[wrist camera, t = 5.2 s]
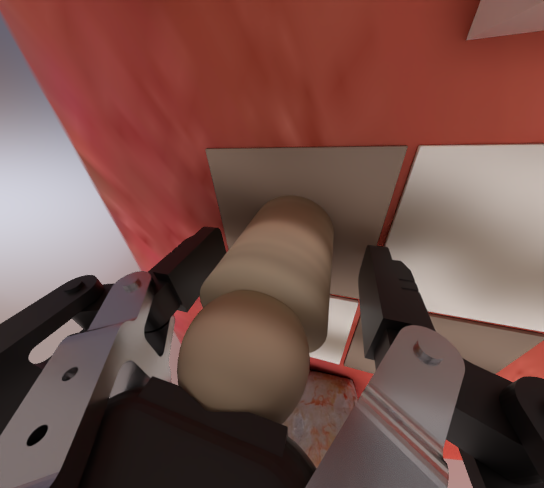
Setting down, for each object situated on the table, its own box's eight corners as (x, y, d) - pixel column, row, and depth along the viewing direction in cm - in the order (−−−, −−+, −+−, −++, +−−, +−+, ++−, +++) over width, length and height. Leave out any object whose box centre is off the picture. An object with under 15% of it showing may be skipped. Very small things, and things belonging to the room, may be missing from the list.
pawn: (250, 193, 10) (80, 360, 3) (339, 197, 9) (333, 461, 2) (258, 258, 13) (168, 426, 6) (328, 268, 11) (311, 489, 5)
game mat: (207, 148, 10) (205, 149, 9) (812, 139, 5) (827, 141, 5) (250, 338, 20) (249, 340, 19) (460, 394, 15) (461, 397, 15)
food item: (367, 375, 18) (387, 585, 10) (354, 405, 22) (360, 565, 14) (233, 340, 21) (172, 472, 14) (245, 372, 26) (205, 484, 18)
